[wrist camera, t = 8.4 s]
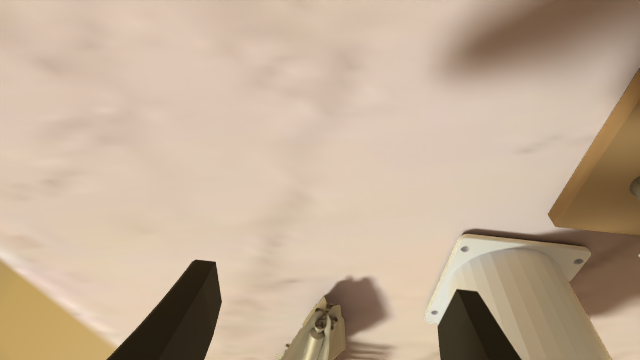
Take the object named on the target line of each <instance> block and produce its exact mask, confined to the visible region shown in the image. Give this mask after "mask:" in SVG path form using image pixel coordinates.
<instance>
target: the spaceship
mask: <svg viewBox="0 0 640 360" xmlns="http://www.w3.org/2000/svg"><path fill="white" fill-rule="evenodd" d="M345 349H346V337H345V325H344V318H342V315H341V307H340V305H335V306H334V305H333V304H331V303H328V304H327V302H326V300H325V297H323V298H322V300H321V301H320V302H319V304H316V305H315V307H314V308H313V310H312V311H311V312H310V314H309V315H308V317H307V318H306V320H305V321H304V323H303V328H302V329H300V331H299V332H298V334H297V335H296V337H295V338H294V340H293V341H292V343H291V344H290V346H289V347H288V349H287V350H286V352H285V353H284V355H283V356H279V355H276V359H279V360H334V359H335V358H336V357H337V356H338V355H339V354H340V353H341V352H343V351H344V350H345Z"/></svg>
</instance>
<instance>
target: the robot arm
mask: <svg viewBox="0 0 640 360" xmlns="http://www.w3.org/2000/svg"><path fill="white" fill-rule="evenodd" d="M464 246H466V247H464ZM590 256H591V252H590V250H589V249H588V248H587V247H584V246H574V245H565V244H556V243H547V242H538V241H529V240H520V239H511V238H502V237H493V236H483V235H474V234H464V235H462V236H460V237H459V238H458V240H457V243H456V245H455V247H454V249H453V252H452V254H451V256H450V258H449V260H448V263H447V265H446V267H445V269H444V272H443V274H442V276H441V278H440V281H439V283H438V285H437V287H436V290H435V292H434V294H433V296H432V299H431V301H430V303H429V305H428V307H427V310H426V312H425V314H424V320H425V322H427V323H430V324H437V325H438V337H439V348H440V358H441V360H612V359H611V357H610V355H609V353H608V352H607V350H606V348H605V346H604V344H603V343H602V341H601V339H600V337H599V335H598V334H597V332H596V330H595V328H594V326H593V325H592V323H591V321H590V319H589V317H588V316H587V314H586V312H585V310H584V308H583V307H582V305H581V303H580V301H579V299H578V298H577V296H576V294H575V292H574V290H573V289H572V287H571V285H570V281H571V280H572V279H573V278H574V276H575V275H576V274H577V273H578V271H579V270H580V269H581V268H582V266H583V265H584V264H585V263H586V261H587V260H588V259H589V258H590ZM221 303H222V300H221V294H220V287H219V281H218V274H217V268H216V262H212V261H203V260H194V261H193V262H192V263H191V264H190V265H189V267H188V268H187V269H186V271H185V272H184V273H183V274H182V276H181V277H180V278H179V280H178V281H177V282H176V283H175V285H174V286H173V287H172V288H171V289H170V291H169V292H168V293H167V294H166V295H165V297H164V298H163V299H162V300H161V301H160V303H159V304H158V305H157V306H156V307H155V308H154V309H153V310H152V312H151V313H150V314H149V315H148V316H147V317H146V318H145V320H144V321H143V322H142V323H141V324H140V325H139V326H138V327H137V328H136V330H135V331H134V332H133V333H132V334H131V335H130V336H129V337H128V338H127V339H126V340H125V341H124V342H123V343H122V344H121V345H120V346H119V347H118V348H117V349H116V350H115V351H114V353H113V354H112V355H111V356H110V357H109V358H108V359H107V360H204V359H205V356H206V353H207V351H208V348H209V345H210V343H211V340H212V337H213V334H214V330H215V327H216V323H217V319H218V315H219V311H220V307H221Z"/></svg>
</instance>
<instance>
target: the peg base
mask: <svg viewBox="0 0 640 360" xmlns="http://www.w3.org/2000/svg"><path fill="white" fill-rule="evenodd" d="M548 216H549V217H550V219H551V221H552V222H553V224H554V225H555V227H563V228H573V229H582V230H591V231H600V232H609V233H618V234H627V235H637V236H640V68H639V70H638V72H637V73H636V75H635V76H634V78H633V80H632V81H631V83H630V84H629V86H628V88H627V89H626V91H625V92H624V94H623V96H622V97H621V99H620V100H619V102H618V104H617V105H616V107H615V108H614V110H613V111H612V113H611V115H610V116H609V118H608V119H607V121H606V123H605V124H604V126H603V127H602V129H601V131H600V132H599V134H598V135H597V137H596V139H595V140H594V142H593V143H592V145H591V146H590V148H589V150H588V151H587V153H586V154H585V156H584V158H583V159H582V161H581V162H580V164H579V166H578V167H577V169H576V170H575V172H574V174H573V175H572V177H571V178H570V180H569V181H568V183H567V185H566V186H565V188H564V189H563V191H562V193H561V194H560V196H559V197H558V199H557V201H556V202H555V204H554V205H553V207H552V209H551V210H550V212H549V213H548Z"/></svg>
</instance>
